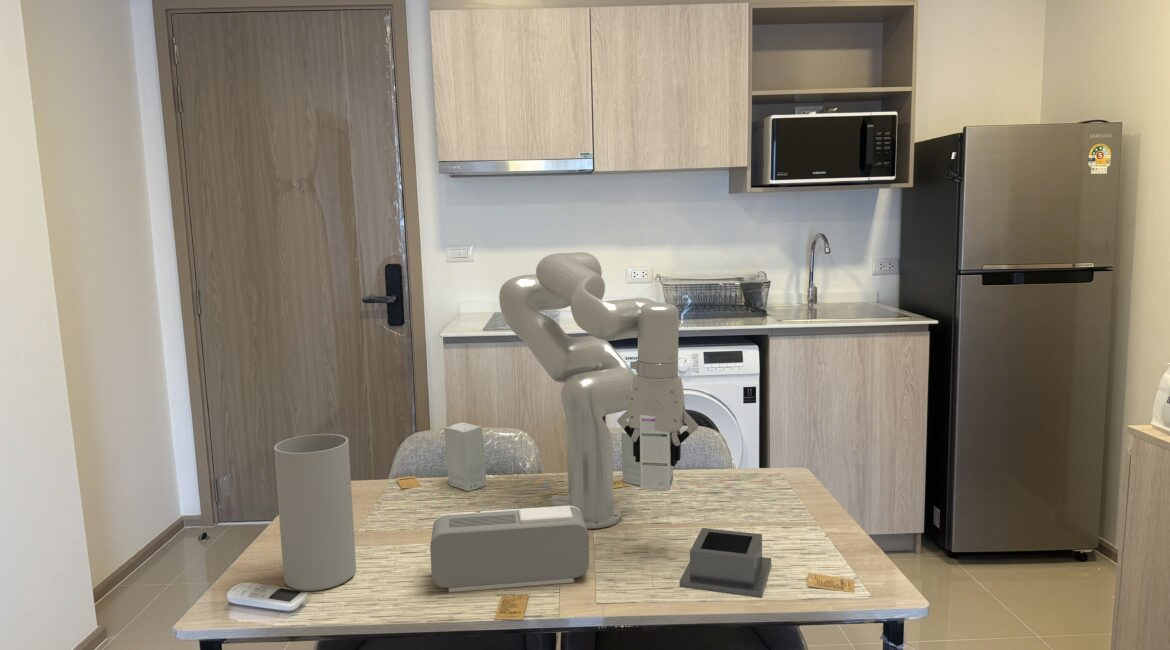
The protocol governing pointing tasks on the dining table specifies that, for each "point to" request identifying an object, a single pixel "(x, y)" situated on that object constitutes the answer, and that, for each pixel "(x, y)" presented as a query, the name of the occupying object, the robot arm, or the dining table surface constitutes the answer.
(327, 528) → the cylinder vase
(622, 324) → the robot arm
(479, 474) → the skincare box
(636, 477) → the supplement box
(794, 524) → the dining table surface
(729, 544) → the socket
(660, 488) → the syrup box
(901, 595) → the dining table surface
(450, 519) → the grey rounded block
